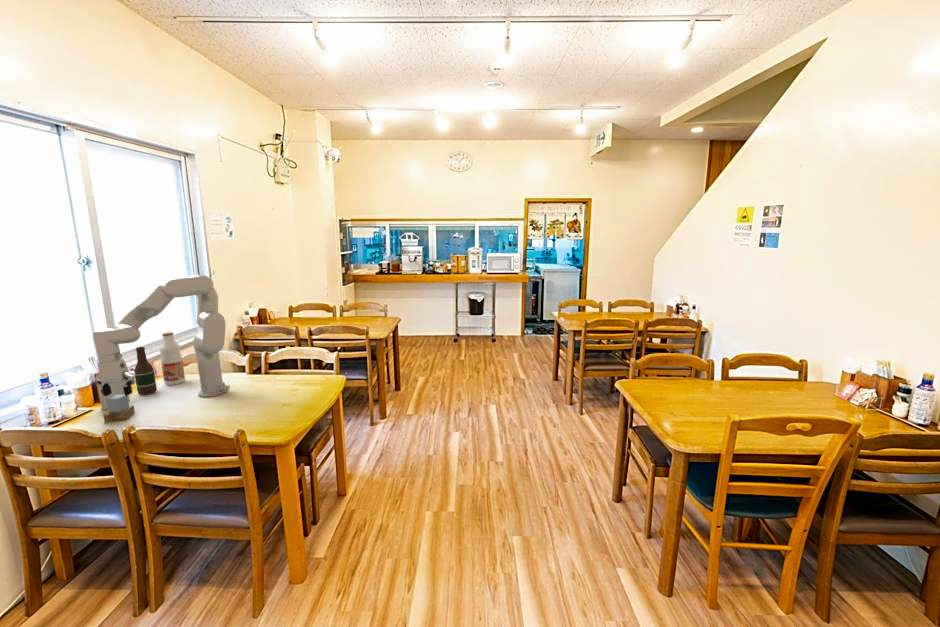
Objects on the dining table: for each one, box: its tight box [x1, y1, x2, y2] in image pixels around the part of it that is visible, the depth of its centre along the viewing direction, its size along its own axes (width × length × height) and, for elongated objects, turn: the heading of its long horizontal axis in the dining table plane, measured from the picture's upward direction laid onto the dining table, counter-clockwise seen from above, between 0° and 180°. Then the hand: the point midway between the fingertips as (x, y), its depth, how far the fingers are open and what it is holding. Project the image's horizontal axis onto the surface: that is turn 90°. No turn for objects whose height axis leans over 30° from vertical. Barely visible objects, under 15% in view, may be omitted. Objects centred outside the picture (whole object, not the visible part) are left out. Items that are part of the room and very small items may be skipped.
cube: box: [106, 395, 130, 412], centre depth 183 cm, size 5×5×6 cm
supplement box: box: [96, 381, 131, 410], centre depth 198 cm, size 9×9×15 cm
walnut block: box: [102, 405, 136, 424], centre depth 184 cm, size 8×8×4 cm
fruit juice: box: [159, 331, 186, 386], centre depth 227 cm, size 9×9×28 cm
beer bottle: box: [133, 346, 158, 396], centre depth 212 cm, size 8×8×24 cm
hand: (118, 394), depth 183 cm, fingers open, 9 cm apart
